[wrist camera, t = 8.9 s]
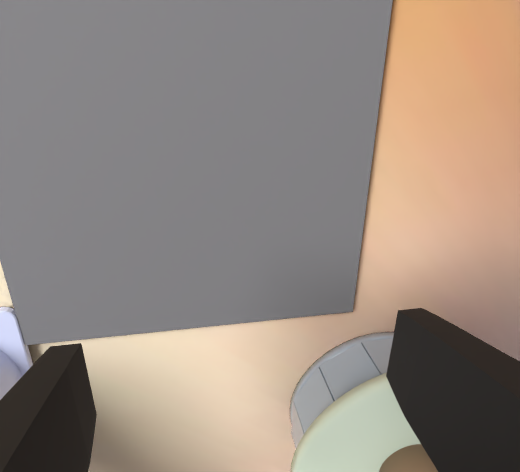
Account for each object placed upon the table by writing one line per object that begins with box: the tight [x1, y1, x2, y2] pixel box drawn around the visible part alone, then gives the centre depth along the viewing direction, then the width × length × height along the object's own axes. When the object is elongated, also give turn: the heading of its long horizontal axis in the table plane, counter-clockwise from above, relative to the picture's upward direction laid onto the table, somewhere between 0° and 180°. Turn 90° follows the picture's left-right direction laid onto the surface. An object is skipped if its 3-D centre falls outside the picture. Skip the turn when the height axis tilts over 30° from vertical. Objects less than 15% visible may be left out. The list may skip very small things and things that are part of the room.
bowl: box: [290, 332, 394, 448], centre depth 23 cm, size 10×10×4 cm
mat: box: [0, 0, 393, 345], centre depth 17 cm, size 16×16×1 cm
